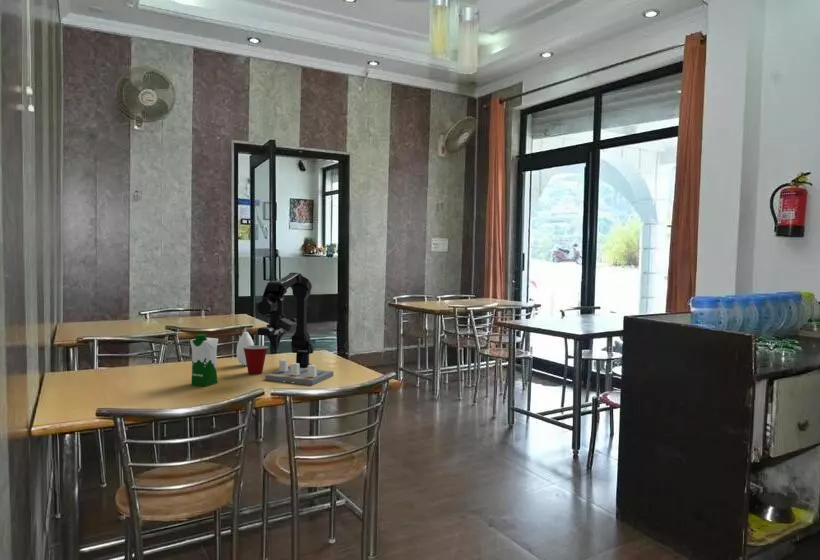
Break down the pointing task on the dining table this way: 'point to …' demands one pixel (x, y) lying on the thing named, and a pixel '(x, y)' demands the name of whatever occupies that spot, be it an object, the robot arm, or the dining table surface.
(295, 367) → the block
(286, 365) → the block
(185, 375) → the dining table surface
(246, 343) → the sauce bottle
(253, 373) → the plastic cup
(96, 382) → the dining table surface
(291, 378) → the breaker panel
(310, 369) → the block
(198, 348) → the milk carton
